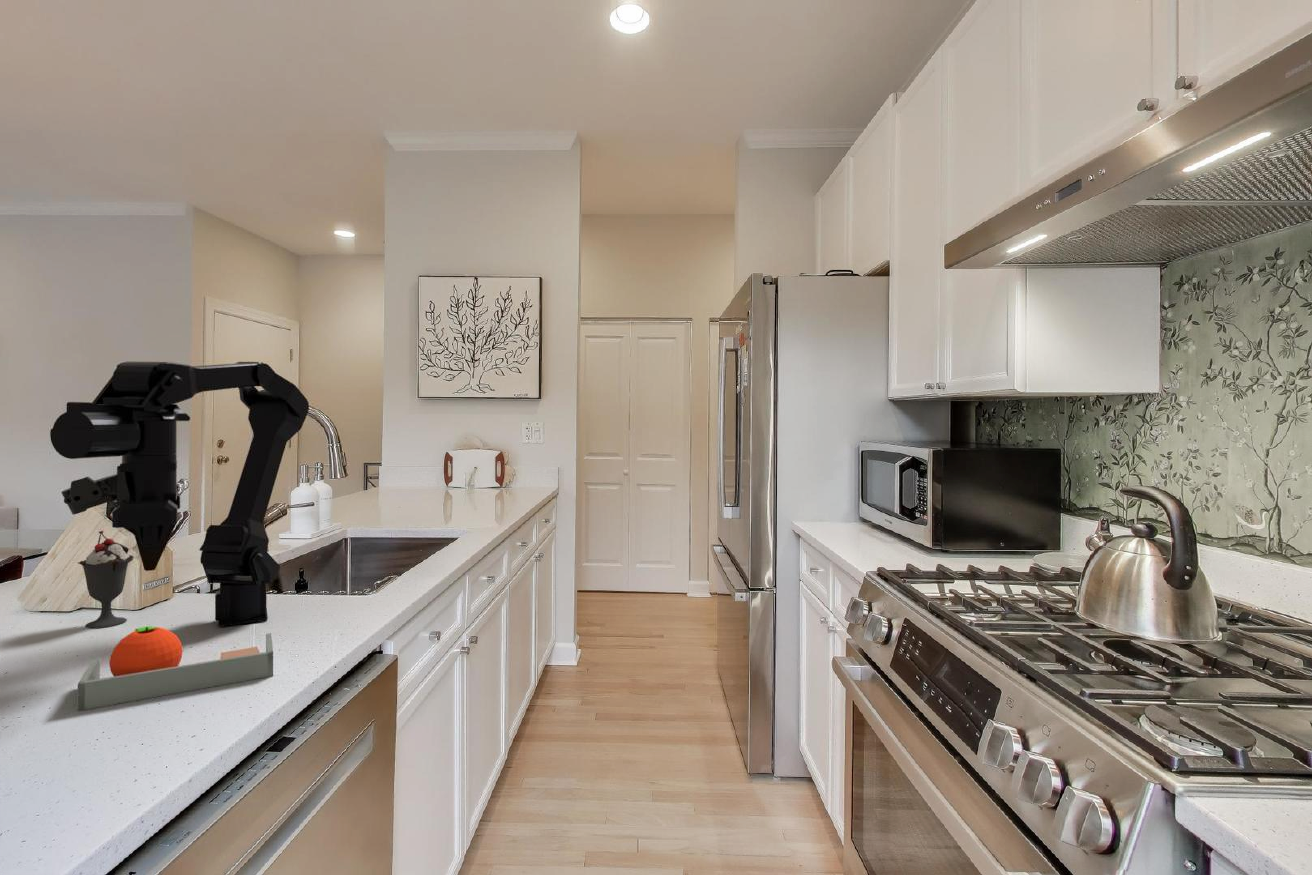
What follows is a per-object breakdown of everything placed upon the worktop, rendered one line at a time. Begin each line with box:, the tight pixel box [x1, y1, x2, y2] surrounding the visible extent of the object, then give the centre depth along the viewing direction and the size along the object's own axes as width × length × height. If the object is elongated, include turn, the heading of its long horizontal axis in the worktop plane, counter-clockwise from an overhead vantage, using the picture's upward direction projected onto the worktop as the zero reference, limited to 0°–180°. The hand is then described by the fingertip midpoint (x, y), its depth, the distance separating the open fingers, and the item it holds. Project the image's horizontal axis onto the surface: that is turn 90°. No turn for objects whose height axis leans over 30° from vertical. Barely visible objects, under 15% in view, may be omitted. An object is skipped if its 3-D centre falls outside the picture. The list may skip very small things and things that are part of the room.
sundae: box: [77, 530, 134, 629], centre depth 97 cm, size 7×7×15 cm
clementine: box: [108, 625, 184, 677], centre depth 76 cm, size 8×7×7 cm
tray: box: [77, 632, 274, 712], centre depth 78 cm, size 18×8×3 cm, turn 123°
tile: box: [220, 646, 261, 659], centre depth 80 cm, size 4×4×2 cm
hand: (149, 570), depth 84 cm, fingers closed
